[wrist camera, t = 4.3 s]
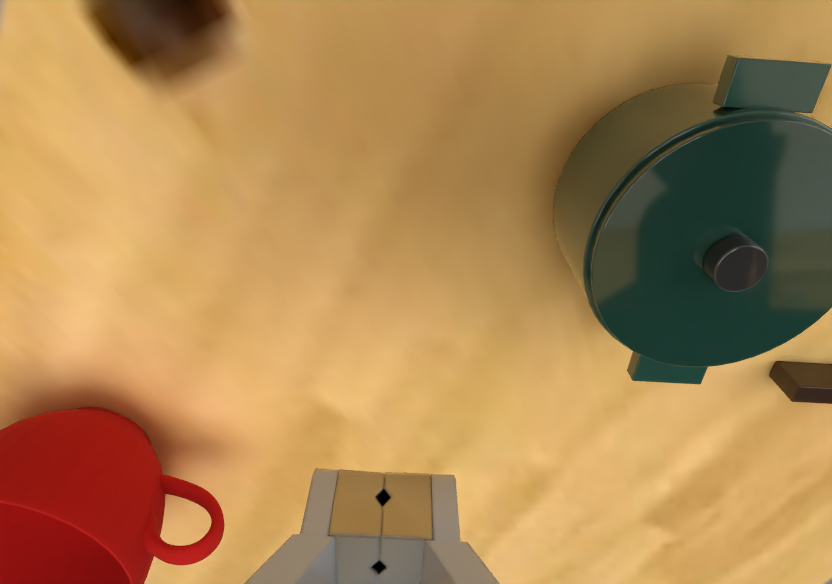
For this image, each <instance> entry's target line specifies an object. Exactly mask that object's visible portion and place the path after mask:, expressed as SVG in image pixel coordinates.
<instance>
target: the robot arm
mask: <svg viewBox="0 0 832 584" xmlns="http://www.w3.org/2000/svg"><path fill="white" fill-rule="evenodd" d="M244 584H499V582H498V581H497V580H496V578H495V577H494V576H493V574H492V573H491V572H490V571H489V569H488V568H487V567H486V565H485V564H484V563H483V562H482V560H481V559H480V558H479V556H478V555H477V554H476V552H475V551H474V550H473V549H472V547H471V546H470V545H469V543H468V542H460V529H459V517H458V504H457V492H456V479H455V477H454V475H439V474H431V475H430V474H419V473H390V472H385V473H379V472H365V471H351V470H333V469H318V468H316V469H315V471H314V473H313V476H312V480H311V485H310V490H309V494H308V499H307V504H306V508H305V513H304V518H303V522H302V527H301V532H300V535H298V534H293V535H292V536H291V537H290V538H289V539H288V540H287V541H286V542H285V543H284V544H283V545H282V546H281V547H280V548H279V549H278V550H277V551H276V552H275V553H274V554H273V555H272V556H271V557H270V558H269V559H268V560H267V561H266V562H265V563H264V564H263V565H262V566H261V567H260V568H259V569H258V570H257V571H256V572H255V573H254V574H253V575H252V576H251V577H250V578H249V579H248V580H247V581H246V582H245V583H244Z"/></svg>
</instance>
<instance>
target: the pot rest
mask: <svg viewBox="0 0 832 584" xmlns="http://www.w3.org/2000/svg"><path fill="white" fill-rule="evenodd" d="M770 377H771V378H772V380H773V381H774V382H775V383H776V384H777V385H778V386H779V388H780V389H781V390H782V391H783V392H784V393H785V394H786V396H787V397H788V398H789V399H790V400H791V401H792V402H809V403H827V404H832V365H829V364H811V363H794V362H776V363H775V365H774V367H773V369H772V372H771V374H770Z"/></svg>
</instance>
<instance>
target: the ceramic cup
mask: <svg viewBox="0 0 832 584" xmlns="http://www.w3.org/2000/svg"><path fill="white" fill-rule="evenodd" d="M165 494H170V495H175V496H179V497H182V498H185V499H188V500H190V501H193V502H195V503H197V504H199V505H200V506H202V507H203V508H205V509H206V510H207V511H208V513H209V514H210V516H211V520H212V524H211V527H210V529H209V531H208V533H207V534H206V535H205V536H204V537H203V538H202V539H201V540H199V541H198V542H196V543H193V544H191V545H186V546H175V545H170V544H167V543H165V542H164V541H163V540H162V539H161V537H160V533H161V529H162V524H163V516H164V508H165ZM223 532H224V518H223V513H222V510H221V507H220V505H219V504H218V502H217V500H216V499H215V498H214V497H213V496H212V495H211V494H210V493H209V492H208V491H206V490H205V489H203V488H201V487H199V486H197V485H195V484H192V483H190V482H187V481H184V480H181V479H178V478H174V477H171V476H167V475H163V474H162V470H161V466H160V464H159V461H158V459H157V457H156V454H155V452H154V450H153V448H152V446H151V443H150V441H149V439H148V437H147V436H146V434H145V433H144V431H143V430H142V429H141V428H140V427H139V426H138V425H137V424H135V423H134V422H132V421H131V420H130V419H128V418H126V417H124V416H122V415H120V414H118V413H115V412H112V411H109V410H105V409H100V408H79V409H75V410H63V411H55V412H50V413H46V414H42V415H38V416H34V417H30V418H27V419H24V420H22V421H19V422H17V423H15V424H12V425H10V426H8V427H6V428H4V429H2V430H0V584H144V582H145V579H146V577H147V574H148V571H149V569H150V566H151V563H152V560H153V557H154V556H155V557H157V558H158V559H160V560H162V561H164V562H166V563H169V564H174V565H188V564H193V563H196V562H199V561H201V560H203V559H204V558H206V557H207V556H209V555H210V554H211V553H212V552H213V551H214V550H215V549H216V548H217V546H218V545H219V543H220V541H221V539H222V536H223Z"/></svg>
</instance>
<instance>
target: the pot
mask: <svg viewBox="0 0 832 584" xmlns="http://www.w3.org/2000/svg"><path fill="white" fill-rule="evenodd" d="M830 68H831V64H828V63H824V62H819V61H808V60H794V59H780V58H766V57H752V56H738V55H727V58H726V61H725V64H724V67H723V70H722V73H721V77H720V80H719V83H718V85H712V84H705V83H683V84H676V85H669V86H665V87H661V88H658V89H654V90H651V91H649V92H646V93H644V94H641V95H639V96H636V97H634V98H632V99H631V100H629V101H627V102H625V103H623V104H621V105H620V106H618V107H617V108H616V109H614V110H613V111H611V112H610V113H608V114H607V115H606V116H605V117H603V118H602V119H601V120H600V121H599V122H598V123H597V124H595V125H594V126H593V127H592V128H591V130H590V131H589V132H588V133H587V134H586V135H585V136H584V137H583V138H582V140H581V141H580V142H579V144H578V145H577V146H576V148H575V149H574V151H573V152H572V154H571V156H570V157H569V159H568V161H567V163H566V165H565V166H564V169H563V171H562V174H561V176H560V179H559V182H558V185H557V189H556V193H555V199H554V207H553V222H554V229H555V235H556V238H557V241H558V244H559V247H560V249H561V251H562V253H563V255H564V257H565V259H566V261H567V263H568V265H569V267H570V269H571V271H572V273H573V275H574V276H575V278H576V280H577V282H578V284H579V286H580V288H581V290H582V292H583V294H584V296H585V298H586V299H587V301H588V303H589V305H590V307H591V309H592V311H593V313H594V315H595V317H596V318H597V319H598V321H599V322H600V324H601V325H602V326H603V328H604V329H605V330H606V331H607V332H608V333H609V334H610V335H611V336H612V337H614V338H615V339H616V340H618V341H619V342H620V343H622V344H623V345H625V346H626V347H628V348H629V349H631V350H632V351H633V353H632V356H631V360H630V363H629V366H628V369H627V371H628V373H629V375H630V377H631V379H632V380H633V381H647V382H666V383H684V384H701V382H702V380H703V377H704V375H705V372H706V370H707V367H708V366H718V365H724V364H729V363H734V362H738V361H742V360H745V359H748V358H752V357H754V356H757V355H760V354H762V353H765V352H767V351H770V350H772V349H774V348H776V347H778V346H780V345H782V344H784V343H785V342H787V341H789V340H790V339H792V338H794V337H795V336H797V335H798V334H800V333H802V332H803V331H804V330H806V329H807V328H808V327H810V326H811V325H812V324H814V323H815V322H816V321H817V320H818V319H820V318H821V317H822V316H823V315H824V314H825V313H826V312H827V311H829V310H830V308H831V307H832V129H831V128H830V127H829V126H827V125H825V124H823V123H821V122H819V121H817V120H815V119H813V118H810V117H807V116H805V115H802V114H799V113H796V112H802V113H812V112H813V109H814V107H815V105H816V102H817V100H818V97H819V95H820V92H821V90H822V87H823V85H824V83H825V80H826V78H827V75H828V73H829V70H830Z"/></svg>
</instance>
